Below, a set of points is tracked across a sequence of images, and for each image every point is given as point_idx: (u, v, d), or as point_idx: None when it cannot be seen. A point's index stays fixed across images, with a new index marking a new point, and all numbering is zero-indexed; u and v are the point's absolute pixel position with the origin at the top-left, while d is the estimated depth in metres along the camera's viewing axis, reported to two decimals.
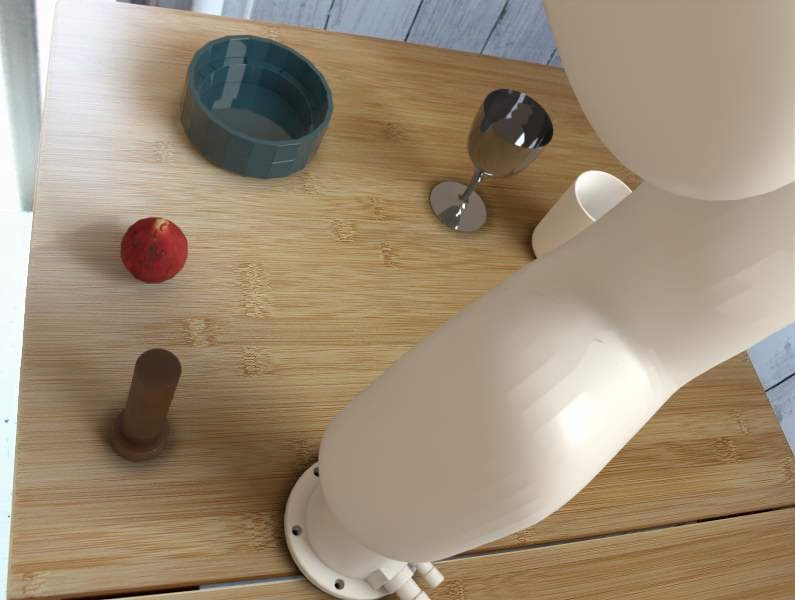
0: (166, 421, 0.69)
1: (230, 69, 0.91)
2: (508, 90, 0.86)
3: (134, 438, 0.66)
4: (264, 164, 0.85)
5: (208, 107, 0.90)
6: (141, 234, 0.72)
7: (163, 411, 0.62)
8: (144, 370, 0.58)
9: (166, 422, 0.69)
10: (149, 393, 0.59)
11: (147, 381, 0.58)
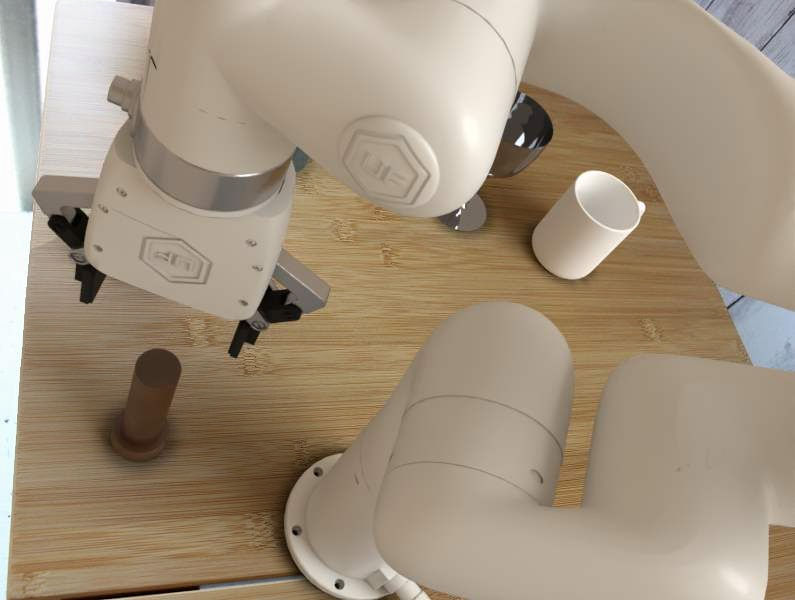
0: (166, 421, 0.69)
1: None
2: None
3: (134, 438, 0.66)
4: None
5: None
6: None
7: (163, 411, 0.62)
8: (144, 370, 0.58)
9: (166, 422, 0.69)
10: (149, 393, 0.59)
11: (147, 381, 0.58)
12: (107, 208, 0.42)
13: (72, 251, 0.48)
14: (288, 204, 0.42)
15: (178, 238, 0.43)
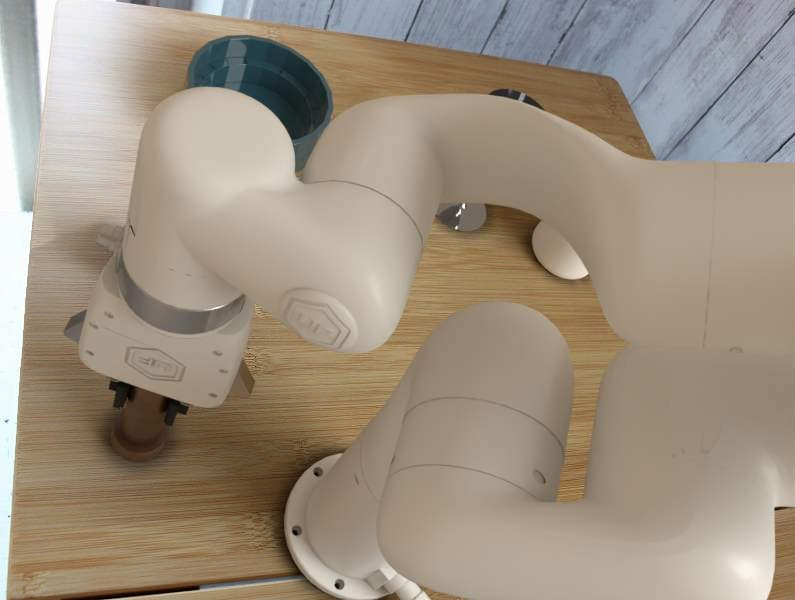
0: None
1: (230, 69, 0.91)
2: (508, 90, 0.86)
3: (134, 438, 0.66)
4: None
5: None
6: None
7: (163, 411, 0.62)
8: None
9: None
10: (149, 393, 0.59)
11: None
12: (97, 325, 0.51)
13: None
14: (247, 322, 0.50)
15: (156, 348, 0.51)
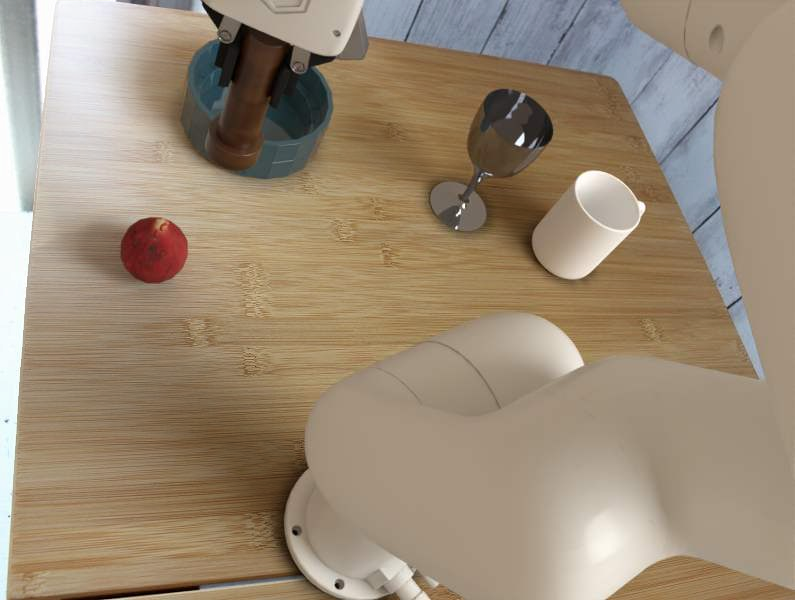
0: (260, 131, 0.67)
1: None
2: (508, 90, 0.86)
3: (233, 135, 0.64)
4: (264, 164, 0.85)
5: (208, 107, 0.90)
6: (141, 234, 0.72)
7: (268, 92, 0.61)
8: (256, 29, 0.57)
9: (261, 131, 0.67)
10: (261, 54, 0.57)
11: (261, 39, 0.57)
12: None
13: (218, 30, 0.57)
14: None
15: None
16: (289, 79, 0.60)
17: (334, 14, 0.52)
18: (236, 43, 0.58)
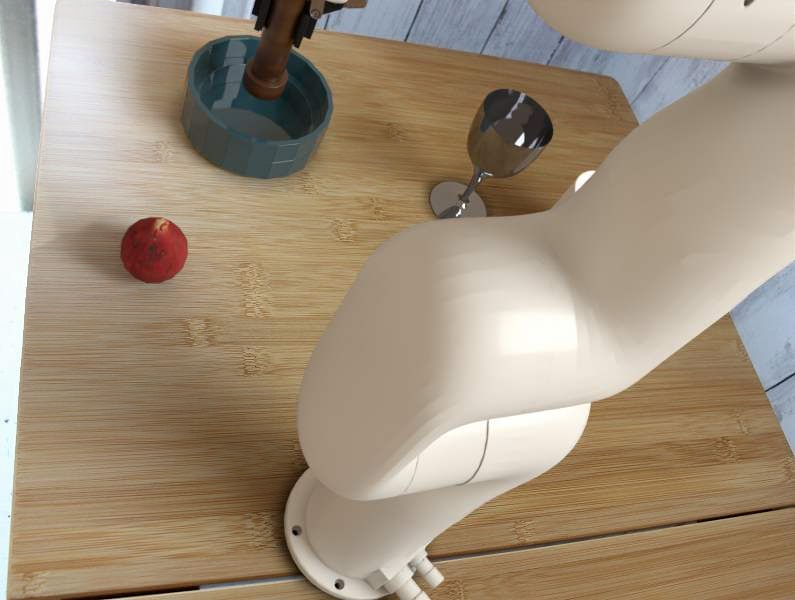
0: (285, 70, 0.86)
1: (230, 69, 0.91)
2: (508, 90, 0.86)
3: (265, 70, 0.83)
4: (264, 164, 0.85)
5: (208, 107, 0.90)
6: (141, 234, 0.72)
7: (292, 34, 0.79)
8: None
9: (285, 70, 0.86)
10: (288, 3, 0.76)
11: None
12: None
13: None
14: None
15: None
16: (308, 24, 0.78)
17: None
18: None
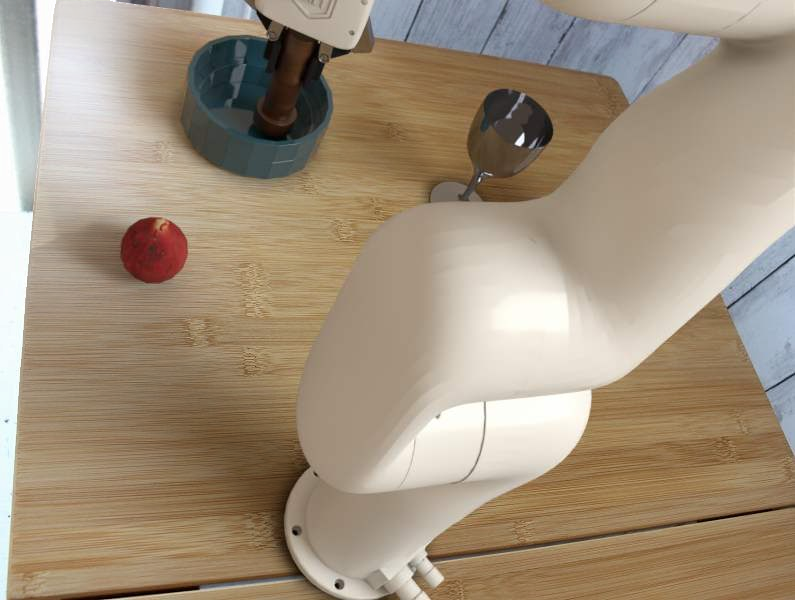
0: (294, 108, 0.90)
1: (230, 69, 0.91)
2: (508, 90, 0.86)
3: (275, 109, 0.87)
4: (264, 164, 0.85)
5: (208, 107, 0.90)
6: (141, 234, 0.72)
7: (302, 76, 0.83)
8: (294, 30, 0.80)
9: (294, 108, 0.90)
10: (297, 48, 0.80)
11: (297, 37, 0.79)
12: None
13: (267, 31, 0.79)
14: None
15: None
16: (317, 67, 0.82)
17: (350, 19, 0.75)
18: (279, 41, 0.80)
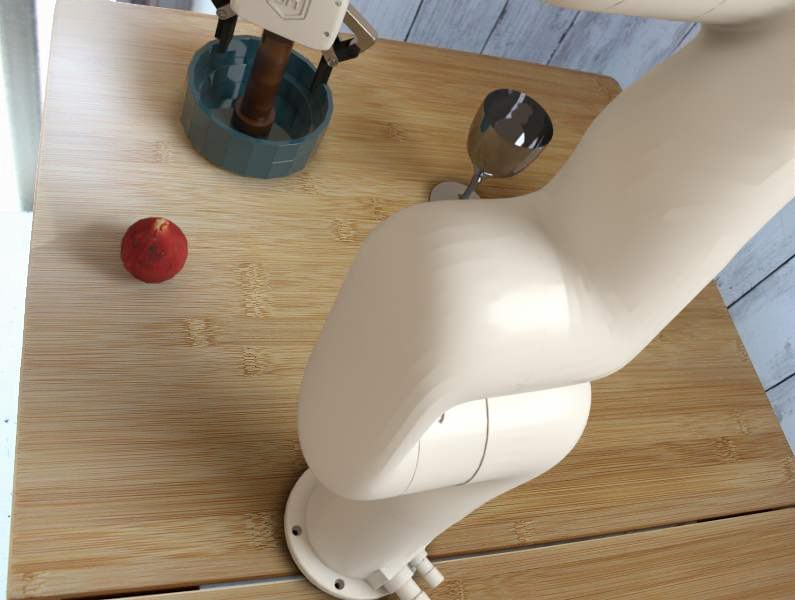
0: (273, 108, 0.90)
1: (230, 69, 0.91)
2: (508, 90, 0.86)
3: (253, 110, 0.87)
4: (264, 164, 0.85)
5: (208, 107, 0.90)
6: (141, 234, 0.72)
7: (278, 77, 0.84)
8: (270, 31, 0.80)
9: (273, 109, 0.90)
10: (273, 49, 0.80)
11: (273, 38, 0.80)
12: None
13: (219, 8, 0.78)
14: None
15: None
16: (325, 71, 0.82)
17: (324, 20, 0.75)
18: (230, 19, 0.79)
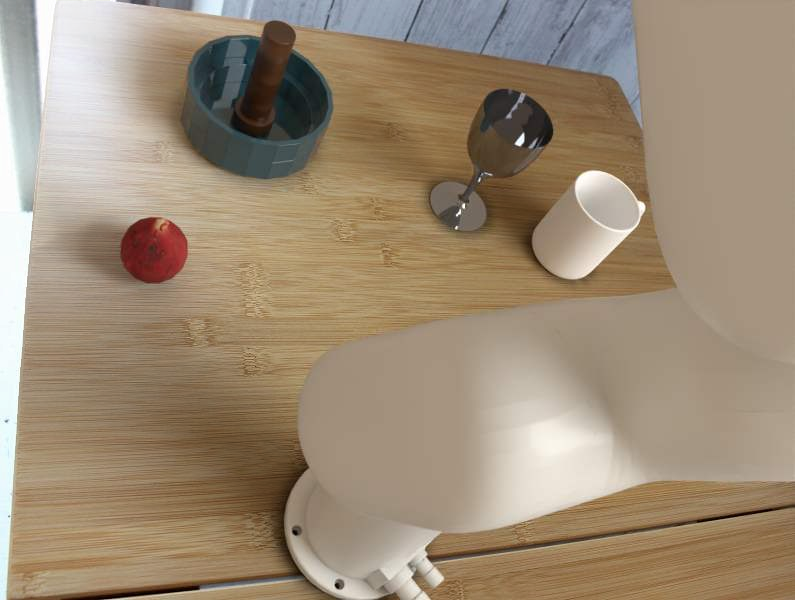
0: (273, 108, 0.90)
1: (230, 69, 0.91)
2: (508, 90, 0.86)
3: (253, 110, 0.87)
4: (264, 164, 0.85)
5: (208, 107, 0.90)
6: (141, 234, 0.72)
7: (278, 77, 0.84)
8: (270, 31, 0.80)
9: (273, 109, 0.90)
10: (273, 49, 0.80)
11: (273, 38, 0.80)
12: None
13: None
14: None
15: None
16: None
17: None
18: None
